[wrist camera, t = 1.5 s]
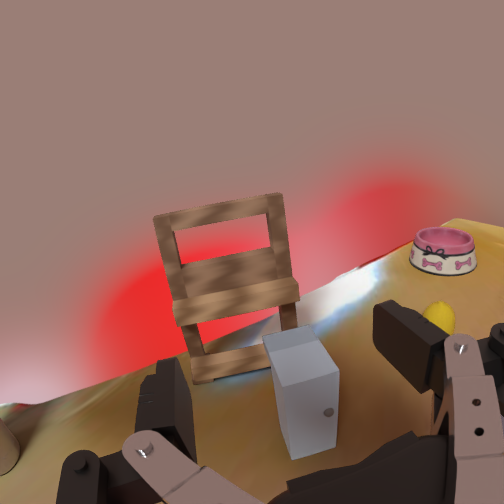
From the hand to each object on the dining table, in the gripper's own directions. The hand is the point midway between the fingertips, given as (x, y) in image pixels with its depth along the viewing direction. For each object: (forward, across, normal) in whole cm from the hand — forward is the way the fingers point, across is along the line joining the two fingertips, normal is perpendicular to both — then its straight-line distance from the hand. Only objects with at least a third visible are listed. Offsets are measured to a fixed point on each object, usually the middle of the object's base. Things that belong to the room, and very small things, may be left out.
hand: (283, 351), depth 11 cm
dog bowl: (+43, -53, +23) cm, 71 cm away
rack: (+29, 0, +22) cm, 36 cm away
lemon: (+18, -27, +23) cm, 40 cm away
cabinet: (+13, -4, +22) cm, 26 cm away
